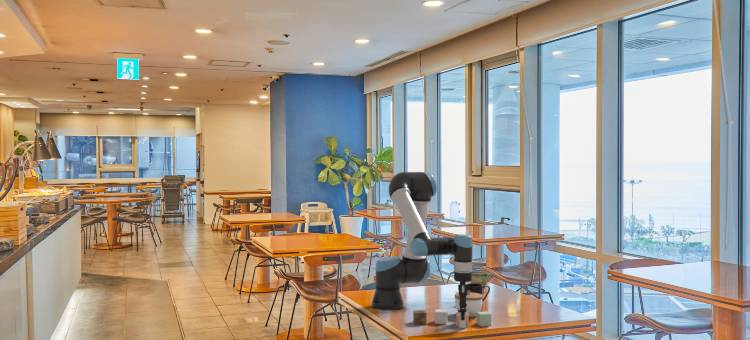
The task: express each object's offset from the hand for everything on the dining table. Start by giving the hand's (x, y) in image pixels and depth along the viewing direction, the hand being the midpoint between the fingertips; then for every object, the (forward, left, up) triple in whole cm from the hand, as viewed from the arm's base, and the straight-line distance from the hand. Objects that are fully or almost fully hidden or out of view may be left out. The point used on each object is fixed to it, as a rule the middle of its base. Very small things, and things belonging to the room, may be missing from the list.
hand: (462, 324), depth 269 cm
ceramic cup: (+11, +80, -1) cm, 81 cm away
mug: (+8, +44, -1) cm, 45 cm away
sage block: (+9, +3, 0) cm, 10 cm away
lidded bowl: (+3, +20, -1) cm, 20 cm away
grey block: (-9, +4, 0) cm, 10 cm away
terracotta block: (0, 0, 0) cm, 0 cm away
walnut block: (-18, +1, 0) cm, 18 cm away
